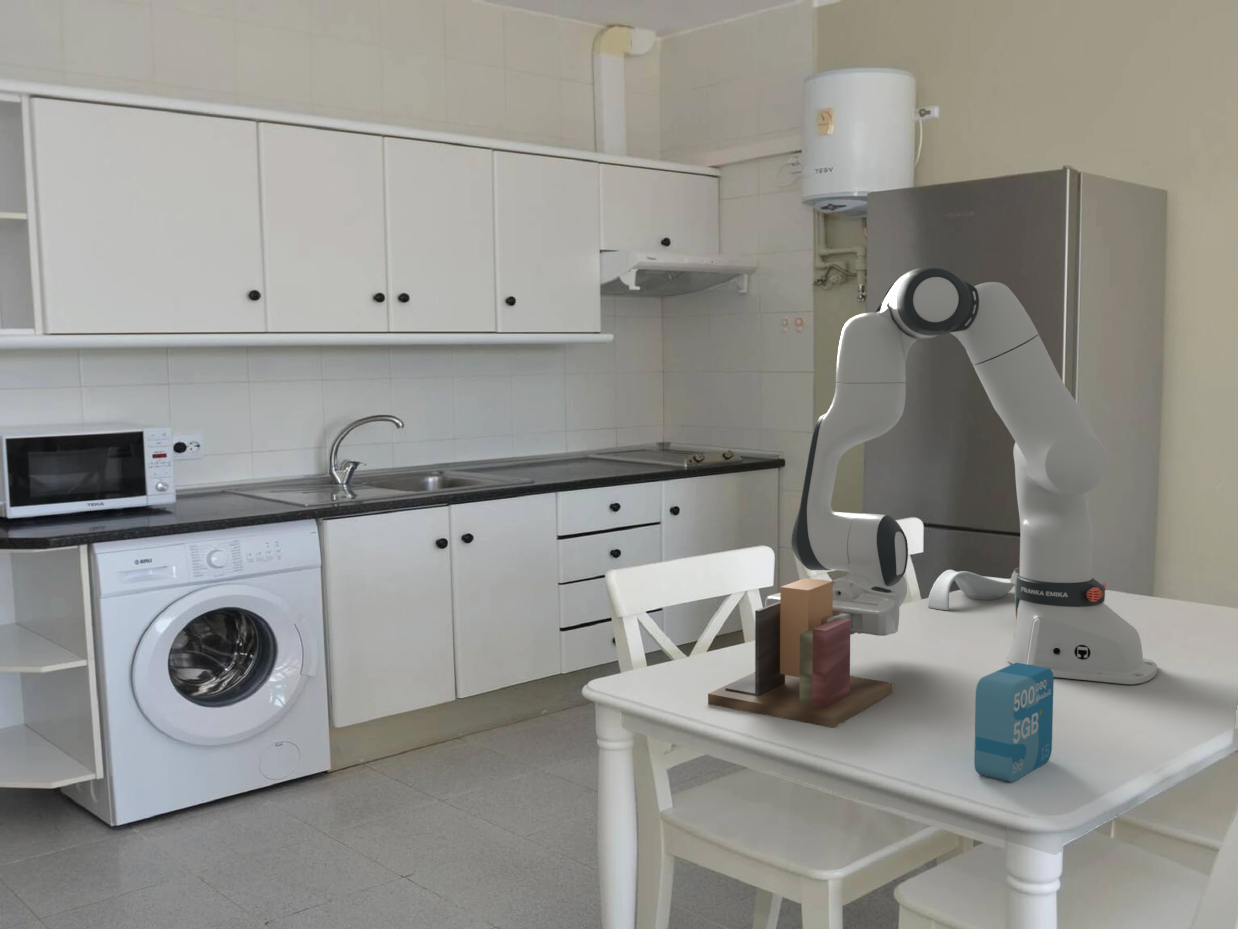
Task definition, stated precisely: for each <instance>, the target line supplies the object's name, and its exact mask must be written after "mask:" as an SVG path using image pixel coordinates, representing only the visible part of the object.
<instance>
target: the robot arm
mask: <svg viewBox="0 0 1238 929" xmlns="http://www.w3.org/2000/svg"><path fill="white" fill-rule="evenodd" d="M946 334H951V335H953V337H955V338H956V339H958V342H960V344H961V345H962V346H963V347H964V348H965V351H966V354H967V355H968V358H969V360H970V363H971V364H972V366H973V368H974V371H975V373H976V375H977V377H978V379H979V381H980V382H981V384H982V387H983V389H984V391H985V392H986V395H987V398H988V399H989V401H990V403H991V405H992V407H993V408H994V411H995V412H996V413H997V415H998V416H999V417H1000V419H1001V421H1002V422H1003V424H1004V426H1005V427H1006V428H1007V430H1008V432H1009V434H1010V435H1011V437H1012V438H1013V441H1015V443H1014V445H1013V450H1012V451H1013V460H1014V474H1015V477H1014V478H1015V487H1016V489H1015V490H1016V499H1017V507H1018V515H1019V530H1020V531H1019V533H1020V537H1019V567H1020V574H1018V575H1017V581H1016V588H1015V590H1014V602H1015V601H1016V608H1018V609H1017V618H1016V617H1015V624H1014V632H1013V636H1012V640H1011V641H1012V642H1011V645H1010V648H1009V651H1008V654H1007V656H1006V660H1007V662H1009V663H1010V664H1011V665H1012V664H1014V663H1022V664H1027V665H1033V666H1038V667H1044V668H1049V669H1051V671H1052V672H1053V677H1054V678H1062V679H1072V680H1083V681H1090V682H1091V681H1093V682H1101V683H1111V684H1113V683H1114V684H1121V685H1136V684H1142V683H1146V682H1148V681H1150V680H1152V679H1153V678H1154V677H1156V675H1157V674H1158V665H1157V663H1156V662H1155V661H1154V660H1152V659H1149V658H1145V657H1143V648H1142V642H1141V637H1140V635H1139V632H1138V631H1137V629H1136V628H1135V627H1134V626H1133V625H1131V624H1130V623H1129V622H1127V620H1125V619H1124V618H1123V617H1122V616H1121V615H1119V614H1118V613H1117V612H1115V610H1113V609H1112V608H1110V607H1109V605H1107V604H1105V601H1106V600H1105V599H1106V590H1107V588H1106V587H1107V583H1106V582H1104V583H1100V582H1099V581H1098V580H1096V579H1095V578H1094V577H1093V561H1094V560H1093V559H1094V558H1093V554H1094V553H1093V552H1094V549H1093V548H1094V528H1093V524H1092V521H1091V516H1090V510H1089V504H1088V496H1087V493H1089V492H1091V491H1094V490H1095V489H1096V488H1098V487H1099V486H1100V485H1101V483H1102V482H1103V481H1104V480H1105V477H1106V475H1107V473H1108V470H1109V464H1110V462H1109V457H1108V456H1109V455H1108V453H1107V452H1108V451H1107V450H1106V448H1105V446H1104V444H1103V443H1102V441H1101V440H1100V439H1099V437H1098V436H1097V434H1096V433H1095V431H1094V429H1093V427H1092V425H1091V424H1090V422H1089V421H1088V419H1087V417H1086V416H1085V414H1084V412H1083V411H1082V409H1081V408H1080V406H1079V404H1078V403H1077V401H1076V400H1075V398H1074V397H1073V396H1072V394H1071V392H1070V391H1069V390H1068V387H1066V385H1065V383H1064V382H1063V380H1062V378H1061V376H1060V374H1059V372H1058V371H1057V368H1056V367H1055V364H1054V363H1053V360H1052V358H1051V357H1050V355H1049V353H1048V349H1046V346H1045V344H1044V342H1043V340H1042V338H1041V336H1040V334H1039V332H1038V330H1037V328H1036V326H1035V324H1034V322H1033V320H1032V319H1031V317H1030V315H1029V313H1027V311H1026V309H1025V307H1024V306H1023V304H1022V303H1021V302H1020V300H1019V299H1018V298H1017V296H1016V295H1015V293H1014V292H1012V290H1011V289H1010V288H1009V286H1007V285H1006V284H1004V283H1002V282H997V281H988V282H982V283H979V284H976V285H973V284H971V283H969V282H968V281H967V280H965V279H964V278H962V277H960V276H959V275H958V274H956V273H954V272H953V271H951V270H949V269H948V268H944V267H943V266H942V267H940V266H939V265H938V266H937V265H934V266H933V265H928V266H922V267H919V268H916V269H912V270H909V271H907V272H905V273H904V274H903V275H902V276H900V277H899V278H898V279H897V280H896V281H894V283H892V284H891V286H889V288H888V290H887V291H886V292H885V294H884V296H883V299H882V300H881V302H880V303H879V305H878V307H877V309H876V310H875V312H864V313H860V314H858V315H854V316H853V317H851V318H849V319H848V320H847V321H846V322H845V323H844V326H843V327H842V330H841V334H840V337H839V338H840V339H839V344H838V349H837V358H836V366H835V367H836V369H835V388H834V389H835V391H834V395H833V399H832V401H831V405H830V406H829V408H828V410H827V412H826V413H824V414H822V415H821V416H819V418H818V420H817V421H816V423H815V426H814V429H813V433H812V437H811V441H810V447H809V452H808V458H807V462H806V469H805V474H804V481H803V488H802V492H801V499H800V503H799V509H798V512H797V515H796V518H795V522H794V526H793V528H792V533H791V550H792V551H793V552H792V553H793V554H794V555H795V557H796V559H797V560H798V561H799V562H800V563H801V565H802V566H804V567H805V568H806V569H807V570H809V571H833V570H834V571H840V572H841V571H842V572H847V574H846V575H845V576H842V577H838V578H837V579H834V580H832V581H833V609H832V617H829V616H826V617H824V618H822V619H821V624H824V623H827V622H830V621H832V620H834V619H837V618H841V619H849V620H850V636H851V635H854V634H858V635H859V634H866V635H871V636H872V635H873V636H879V637H880V636H881V637H884V636H889V635H892V634H893V635H894V634H896V633H897V632H899V626H900V625H899V624H900V608H901V606H902V605H903V603H904V602H905V600H906V597H907V591H908V586H907V585H908V584H907V580H906V577H905V573H906V571H907V566H908V558H909V546H908V545H909V544H908V540H907V536H906V534H905V533H904V530H903V529H902V527H901V526H900V523H898V521H897V520H896V519H895V518H894V517H893V516H891V515H889V514H877V513H869V512H868V513H867V512H865V513H864V512H861V513H860V512H859V513H858V512H844V511H841V512H840V511H835V510H833V508H832V500H833V494H834V493H833V492H834V487H835V482H836V478H837V470H838V466H839V461H840V460H841V459H842V457H843V455H844V454H845V453H846V452H847V451H848V450H850V449H852V448H854V447H855V446H858V445H861V444H863V443H866V442H868V441H871V440H873V439H876V438H878V437H881V436H882V435H884V434H886V433H888V432H889V431H890V430H891V429H893V428H894V427H895V426H896V425H897V424H898V423H899V421H900V420H901V418H902V416H903V414H904V410H905V404H906V395H907V394H906V391H907V390H906V388H907V387H906V384H907V383H906V382H907V377H906V376H907V374H906V373H907V371H906V362H907V359H908V357H907V356H908V354H909V350H910V349H911V347H912V345H914V344H915V342H916V341H918V340H925V339H933V338H936V337H938V336H941V335H946ZM779 601H780V592H778V593H774V594H769V595H767V596H766V598H765V601H764V607H766V606H769V605H771V604H774V603H777V602H779ZM1016 608H1015V609H1016Z"/></svg>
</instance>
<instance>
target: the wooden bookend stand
mask: <svg viewBox="0 0 1238 929" xmlns="http://www.w3.org/2000/svg"><path fill="white" fill-rule="evenodd" d="M754 617H755V618H754V620H755V621H754V622H755V623H754V626H755V628H754V631H755V632H754V634H755V635H754V638H755V639H754V641H755V642H754V644H755V645H754V646H755V647H754V649H755V650H754V651H755V653H754V661H755V662H754V663H755V664H754V666H755V667H754V668H755V669H754V672H753V673H750V674H748V675H746V676H744V677H741V678H739V679H737V680H735V681H733V682H731V683H728V684H726V685H724V686H722V687H720V688H717V689H715V690H713V691H711V692H709V693H707V704H708V705H714V706H718V707H724V708H728V709H733V710H739V711H744V712H749V713H755V714H759V715H765V716H770V717H776V718H781V719H785V720H791V721H797V722H802V723H808V724H811V725H812V724H813V725H817V726H822V727H828V728H834V729H835V728H836V727H838V726H840V725H841V724H843V723H844V722H846V721H848V720H849V719H851V718H853V717H855V716H856V715H857V714H859V713H861V712H862V711H864V710H866V709H868V708H870V707H871V706H873V705H875V704H876V703H878V702H879V701H881V700H883V699H884V698H886V697H888V696H889V695H891V694H892V693H893V682H890V681H889V682H888V681H883V680H878V679H871V678H864V677H858V676H851V635H850V620H849V619H841V618H837V619H834V620H832V621H830V622H827V623H824V624H822V625H819V626H817V627H815V628H812V629H810V630H808V631H806V632H803V633H801V634H800V677H795V676H789V675H784V674H780V601H779V602H777V603H774V604H771V605H769V606H766V607H765V606H764V607H760V608H758V609H755V612H754Z"/></svg>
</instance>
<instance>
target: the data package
mask: <svg viewBox="0 0 1238 929" xmlns="http://www.w3.org/2000/svg"><path fill="white" fill-rule="evenodd" d="M1054 678H1055V677H1053V672H1052V671H1051V669H1049V668H1044V667H1038V666H1033V665H1027V664H1022V663H1014V664H1012V663H1011V664H1010V665H1007V666H1005V667H1002V668H1001V669H998V670H996V671H994V672H992V673H989V674H987V675H985V676H982V677H981V678H980V679H979V680H978V682H977V684H976V688H975V702H974V703H975V705H974V706H975V708H974V709H975V711H974V712H975V714H974V715H975V716H974V717H975V718H974V755H973V756H974V762H973V763H974V764H973V765H974V770H975V772H976V774H978V775H981V776H985V777H989V778H993V779H997V780H1000V781H1005V782H1008V783H1014V782H1016V781H1018V780H1020V779H1021V778H1024V777H1025V776H1026V775H1027V774H1029V773H1031V772H1033V771H1034V770H1036V769H1038V768H1040V767H1041V766H1043V765H1044V764H1046V763H1047V762H1048V761H1049V759H1050V758H1051V755H1052V750H1053V717H1054V716H1053V714H1054V682H1055V681H1054Z"/></svg>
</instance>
